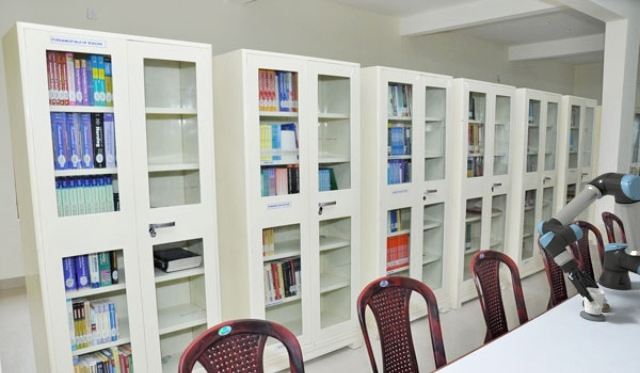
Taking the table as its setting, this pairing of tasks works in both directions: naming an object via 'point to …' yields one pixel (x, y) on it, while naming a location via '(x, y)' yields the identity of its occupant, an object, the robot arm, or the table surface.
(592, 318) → the coaster
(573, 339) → the table surface
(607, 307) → the collar
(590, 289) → the white cup
